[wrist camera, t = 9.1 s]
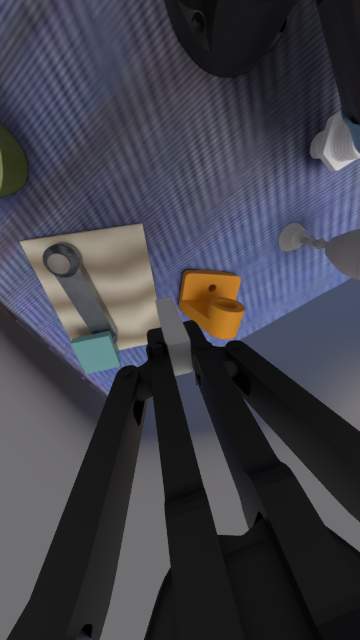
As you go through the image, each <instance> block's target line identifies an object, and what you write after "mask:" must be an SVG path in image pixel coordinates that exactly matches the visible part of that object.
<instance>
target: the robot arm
mask: <svg viewBox="0 0 360 640" xmlns="http://www.w3.org/2000/svg"><path fill="white" fill-rule="evenodd" d="M165 1H166V5H167V9H168V12H169V15H170V18H171V21H172V24H173V26H174V29H175V31H176V33H177V35H178V37H179V39H180V41H181V43H182V45H183V46H184V48H185V49H186V51H187V52H188V54H189V55H190V56H191V57H192V59H193V60H194V61H195V62H196V63H197V64H198V65H199V66H200V67H202V68H203V69H204V70H206V71H207V72H209V73H211V74H213V75H216V76H220V77H236V76H240V75H242V74H245V73H247V72H248V71H250V70H251V69H253V68H254V67H255V66H257V65H258V64H259V63H260V62H261V61H262V60H263V59H264V58H265V56H266V55H267V54H268V53H269V52H270V51H271V50H272V49H273V47H274V46H275V45H276V44H277V42H278V41H279V40H280V38H281V37H282V35H283V34H284V32H285V30H286V29H287V27H288V25H289V23H290V21H291V19H292V17H293V15H294V13H295V11H296V9H297V7H298V4H299V2H300V0H165ZM316 4H317V9H318V13H319V17H320V21H321V25H322V29H323V33H324V37H325V41H326V45H327V49H328V53H329V57H330V60H331V64H332V68H333V72H334V76H335V80H336V84H337V88H338V92H339V96H340V101H341V105H342V107H341V116H342V120H343V121H344V123H345V124H346V125H347V126H348V129H349V132H350V135H351V138H352V141H353V144H354V147H355V149H356V150H357V151H358V153H360V0H316ZM155 303H156V308H157V313H158V318H159V323H160V327H159V328H155V329H150V330H148V332H147V334H146V335H147V342H148V346H147V347H146V352H147V356H148V360H147V362H146V363H144V364H143V365H141V366H139V367H136V366H134V365H128V366H125V367H123V368H121V369H120V370H119V371H118V372H117V374H116V376H115V379H114V382H113V384H112V387H111V389H110V392H109V395H108V397H107V400H106V403H105V405H104V408H103V410H102V413H101V415H100V418H99V421H98V424H97V426H96V429H95V431H94V434H93V436H92V439H91V441H90V444H89V447H88V450H87V452H86V455H85V457H84V460H83V462H82V465H81V467H80V470H79V473H78V476H77V478H76V480H75V483H74V486H73V488H72V491H71V493H70V496H69V499H68V501H67V504H66V506H65V509H64V512H63V514H62V517H61V519H60V522H59V525H58V527H57V530H56V532H55V535H54V538H53V540H52V543H51V545H50V548H49V551H48V553H47V556H46V559H45V561H44V564H43V566H42V569H41V571H40V574H39V577H38V579H37V582H36V585H35V587H34V590H33V592H32V595H31V598H30V600H29V602H28V604H27V605H26V607H25V609H24V611H23V612H22V614H21V616H20V617H19V619H18V621H17V623H16V624H15V626H14V628H13V629H12V631H11V633H10V634H9V636H8V638H7V640H99V639H100V636H101V633H102V629H103V626H104V622H105V619H106V615H107V611H108V608H109V604H110V599H111V595H112V590H113V586H114V581H115V576H116V571H117V565H118V560H119V554H120V549H121V543H122V537H123V532H124V527H125V521H126V516H127V510H128V505H129V499H130V494H131V488H132V483H133V477H134V472H135V466H136V461H137V455H138V450H139V445H140V439H141V434H142V428H143V422H144V417H145V411H146V406H147V399H148V398H150V397H152V396H153V401H154V409H155V418H156V426H157V434H158V442H159V451H160V460H161V468H162V476H163V485H164V493H165V504H164V505H165V519H166V528H167V537H168V546H169V555H170V563H171V568H170V569H169V571H168V573H167V575H166V576H165V578H164V580H163V583H162V585H161V588H160V590H159V593H158V596H157V599H156V602H155V605H154V608H153V612H152V615H151V618H150V622H149V625H148V628H147V632H146V635H145V638H144V640H360V552H359V551H358V550H356V549H355V548H354V547H353V546H351V545H350V544H349V543H347V542H346V541H345V540H343V539H342V538H341V537H340V536H338V535H337V534H336V533H335V532H333V531H332V530H330V529H329V528H328V527H326V526H325V525H324V523H323V522H322V520H321V518H320V517H319V515H318V513H317V512H316V510H315V508H314V507H313V505H312V503H311V502H310V500H309V498H308V497H307V495H306V493H305V492H304V490H303V488H302V487H301V485H300V483H299V482H298V480H297V478H296V477H295V475H294V474H293V472H292V471H291V469H290V468H289V467H288V466H287V465H286V464H284V463H282V462H281V461H280V460H279V459H278V458H277V456H276V455H275V453H274V451H273V450H272V448H271V446H270V444H269V443H268V441H267V439H266V438H265V436H264V434H263V432H262V430H261V429H260V427H259V425H258V423H257V422H256V420H255V418H254V417H253V415H252V413H251V411H250V409H249V408H248V406H247V404H246V403H245V401H244V399H245V400H246V401H247V402H248V403H249V405H251V407H252V408H253V409H254V410H255V411H256V412H257V413H258V414H259V415H260V416H261V418H262V419H263V420H264V421H265V422H266V423H267V424H268V425H269V426H270V427H271V428H272V430H273V431H274V432H275V433H276V434H277V435H278V436H279V437H280V438H281V439H282V441H283V442H284V443H285V444H286V445H287V446H288V447H289V448H290V449H291V450H292V452H293V453H294V454H295V455H296V456H297V457H298V458H299V459H300V460H301V461H302V462H303V463H304V465H305V466H306V467H307V468H308V469H309V470H310V471H311V472H312V473H313V474H314V476H315V477H316V478H317V479H318V480H319V481H320V482H321V483H322V484H323V485H324V486H325V488H326V489H327V490H328V491H329V492H330V493H331V494H332V495H333V496H334V497H335V498H336V499H337V500H338V501H339V503H340V504H341V505H342V506H343V507H344V508H345V509H346V510H347V511H348V512H349V513H350V514H351V515H353V516H354V517H355V518H356V519H357V520H358V521H359V522H360V431H358V430H357V429H356V428H355V427H353V426H352V425H351V424H349V423H348V422H347V421H345V420H344V419H343V418H341V417H340V416H339V415H337V414H336V413H335V412H334V411H332V410H331V409H329V408H328V407H327V406H326V405H325V404H323V403H322V402H321V401H319V400H318V399H317V398H315V397H314V396H313V395H312V394H310V393H309V392H308V391H306V390H305V389H304V388H302V387H301V386H300V385H298V384H297V383H296V382H295V381H293V380H292V379H290V378H289V377H288V376H287V375H285V374H284V373H283V372H281V371H280V370H279V369H278V368H276V367H275V366H274V365H272V364H271V363H270V362H268V361H267V360H266V359H264V358H263V357H262V356H261V355H259V354H258V353H257V352H255V351H254V350H253V349H252V348H250V347H249V346H248V345H246V344H244V343H243V342H241V341H238V340H233V341H229V342H228V343H227V344H226V347H217V346H213V345H212V344H211V343H210V342H208V341H207V340H206V338H205V337H204V335H203V333H202V331H201V329H200V328H199V326H198V324H197V323H196V322H195V321H193V320H190V321H185V322H182V320H181V318H180V316H179V313H178V311H177V309H176V306H175V304H174V302H173V300H172V297H169V298H164V299H159V300H155ZM193 368H194V370H195V377H196V385H199V388H200V391H201V394H202V396H203V399H204V401H205V404H206V407H207V410H208V413H209V415H210V418H211V421H212V423H213V426H214V429H215V432H216V434H217V437H218V440H219V442H220V445H221V448H222V450H223V453H224V456H225V458H226V461H227V464H228V467H229V469H230V472H231V475H232V477H233V480H234V483H235V485H236V488H237V491H238V494H239V496H240V500H241V504H242V509H243V513H244V516H245V519H246V522H247V525H248V528H249V530H248V531H247V532H246V533H245V534H244V535H241V536H233V535H217V532H216V528H215V524H214V521H213V517H212V513H211V509H210V506H209V502H208V499H207V495H206V492H205V489H204V486H203V482H202V479H201V475H200V471H199V467H198V463H197V459H196V456H195V452H194V448H193V444H192V440H191V436H190V432H189V429H188V425H187V421H186V417H185V413H184V410H183V406H182V402H181V398H180V394H179V390H178V386H177V382H176V379H175V376H177V375H181V374H185V373H189V372H193ZM243 398H244V399H243Z"/></svg>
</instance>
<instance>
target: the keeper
mask: <svg viewBox="0 0 360 640" xmlns="http://www.w3.org/2000/svg"><path fill="white" fill-rule="evenodd" d="M70 344H71V346H72V348H73V350H74V352H75V354H76V356H77V357H78V359H79V361H80V363H81V365H82V367H83V369H84V371H85V372H86V374H89V373H94V372H98V371H102V370H107V369H111V368H115V367H120V363H121V360H120V358H119V349H118V347H117V344H116V343H115V344H114V342H113V339H112V336H111V334H110V331H106V332H101V333H96V334H91V335H87V336H82V337H77V338H73V339H72V341H71V343H70Z"/></svg>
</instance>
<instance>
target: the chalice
mask: <svg viewBox="0 0 360 640" xmlns="http://www.w3.org/2000/svg"><path fill="white" fill-rule="evenodd" d="M304 244H306V246H307V247H308V248H310V247H312V246H315V247H316V249H321V248H325V254H326V256H327V257H328V258H329V260H330V261H331V262H332V264H333V265H334V266H335V267H336V268H337V269H338V270H339V271H341V272H342V273H343V274H345V275H347V276H350V277H353V278H356V279H359V280H360V229H357V230H353V231H350V232H347V233H344V234H341V235H339V236H336V237H334V238H332V239H331V240H330V241H329V242H327V241H325V240H324V239H323V238H321V239H319V240H316V238H315V237H314V236H311V237H310V238H307V231H306V230H305V229H304V228H303V227H302V226H301V225H300V224H299V223H291V224H289V225H288V226H286V227H285V228H284V229H283V231H282V233H281V234H280V237H279V247H280V248H281V250H283V251H285V252H288V251H292V250H296V249H299V248H300V247H302V246H303V245H304Z"/></svg>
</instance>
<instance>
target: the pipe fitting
mask: <svg viewBox="0 0 360 640" xmlns="http://www.w3.org/2000/svg"><path fill="white" fill-rule="evenodd" d="M310 155H311V157H312V158H314V159H321V160H322V161H323V163H324V164H325V165H326V166H327V168H328V169H329V170H330V171H331V172H332V171H338V170H340V169H341V168H343V167H344V166H346V165H347V164H349V163H351V162H352V161H354V160H355V159H360V153H358V151H357V150H356V149H355V147H354V144H353V141H352V138H351V135H350V132H349V129H348V126H347V125H346V124H345V123H344V121H343V120H342V116H341V110H340V111H338V112H337V113H335V114H334V115H332V116H331V117H330V118H329V119H328V121H327V124H326V127H325V130H324V131H322V132H321V133H319V134H317V135H316V136H315V137H314V139H313V140H312V143H311V146H310Z"/></svg>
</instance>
